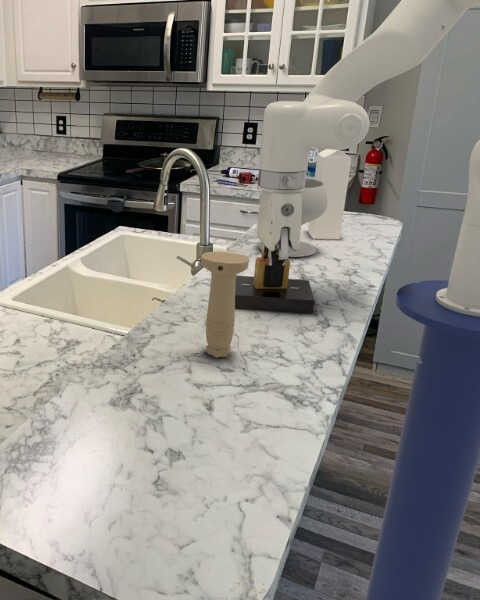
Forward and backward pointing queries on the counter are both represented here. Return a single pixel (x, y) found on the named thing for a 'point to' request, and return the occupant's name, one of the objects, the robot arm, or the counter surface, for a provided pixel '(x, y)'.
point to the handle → (222, 299)
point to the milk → (331, 193)
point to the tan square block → (260, 270)
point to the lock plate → (274, 296)
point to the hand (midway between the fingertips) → (270, 283)
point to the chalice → (309, 212)
